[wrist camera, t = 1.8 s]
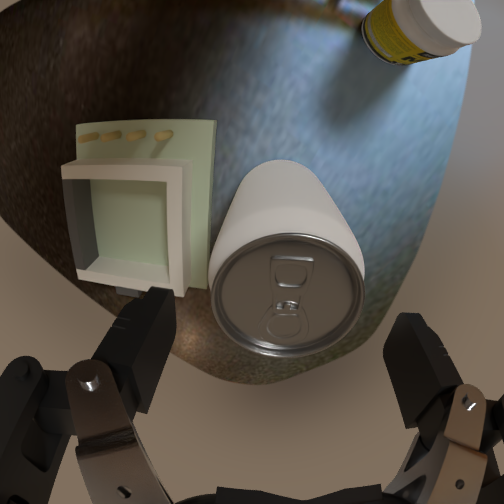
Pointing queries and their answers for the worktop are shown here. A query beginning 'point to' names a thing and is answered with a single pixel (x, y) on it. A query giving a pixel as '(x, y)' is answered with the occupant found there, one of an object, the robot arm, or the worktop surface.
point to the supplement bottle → (420, 29)
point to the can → (285, 265)
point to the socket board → (142, 203)
